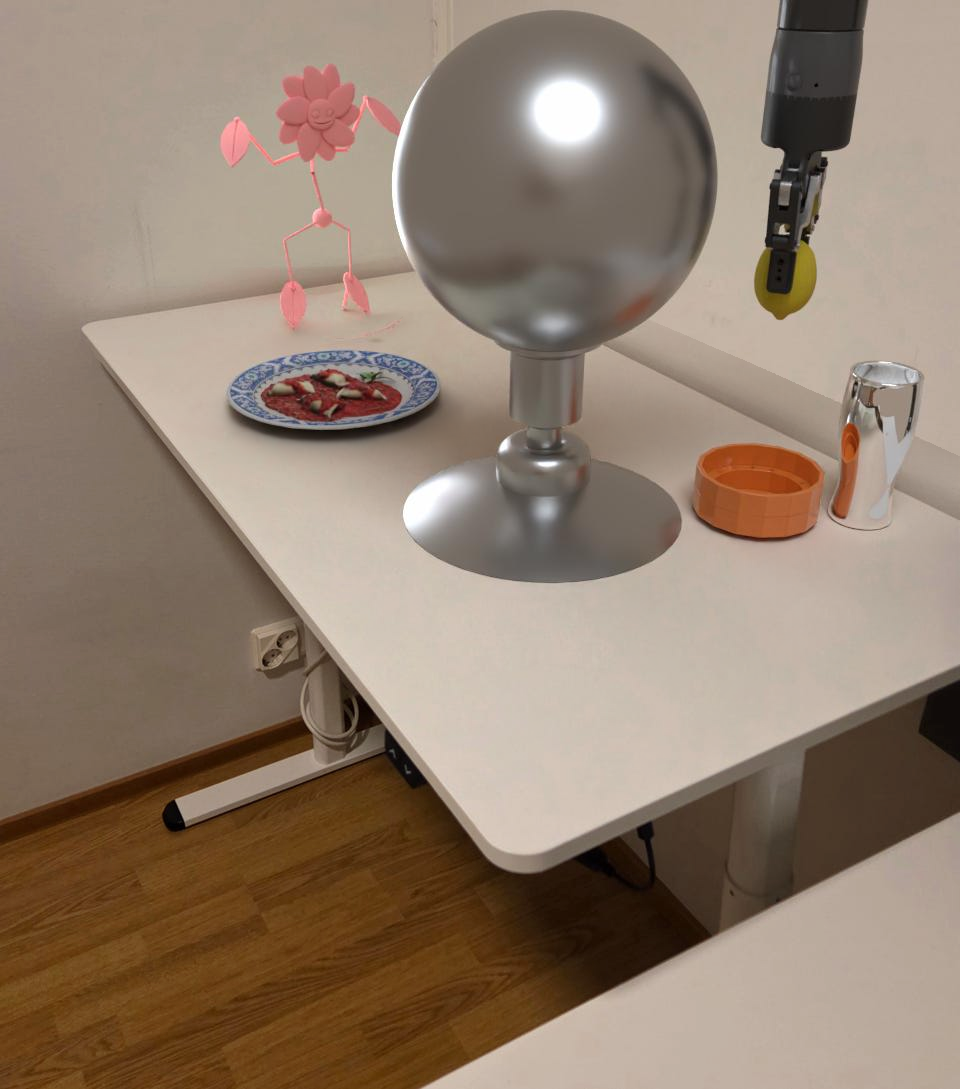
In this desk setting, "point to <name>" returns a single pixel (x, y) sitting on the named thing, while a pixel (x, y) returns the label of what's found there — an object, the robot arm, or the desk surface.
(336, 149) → the figurine
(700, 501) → the bowl
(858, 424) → the beer glass
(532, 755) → the desk surface
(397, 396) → the ceramic plate
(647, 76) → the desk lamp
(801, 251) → the lemon
